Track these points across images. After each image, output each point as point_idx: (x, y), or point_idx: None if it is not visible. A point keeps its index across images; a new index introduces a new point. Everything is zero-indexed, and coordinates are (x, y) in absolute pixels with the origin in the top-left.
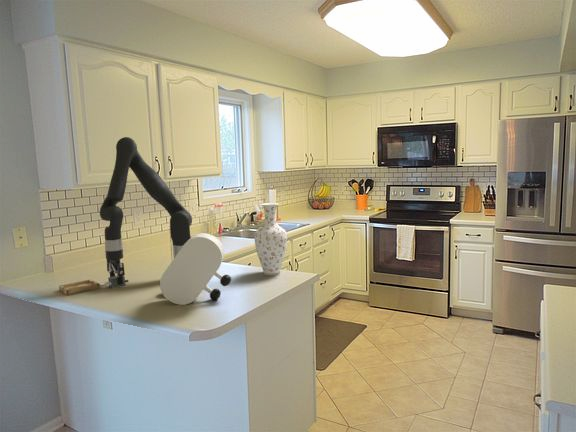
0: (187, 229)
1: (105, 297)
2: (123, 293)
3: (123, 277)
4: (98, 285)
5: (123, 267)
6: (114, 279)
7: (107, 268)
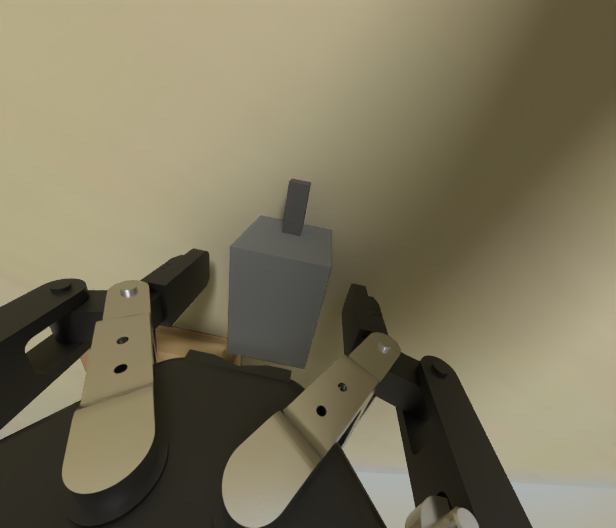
0: None
1: None
2: (476, 345)
3: (328, 273)
4: (234, 362)
5: (515, 510)
6: (308, 345)
7: (54, 358)
